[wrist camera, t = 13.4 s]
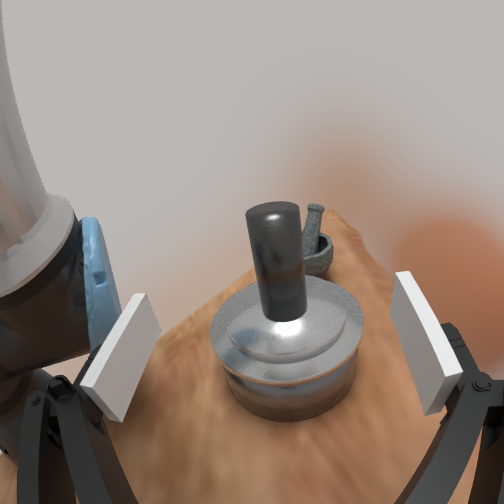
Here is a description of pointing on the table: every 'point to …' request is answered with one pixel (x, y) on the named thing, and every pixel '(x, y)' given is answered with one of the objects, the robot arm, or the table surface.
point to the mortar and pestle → (316, 244)
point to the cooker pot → (292, 372)
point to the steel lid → (283, 295)
